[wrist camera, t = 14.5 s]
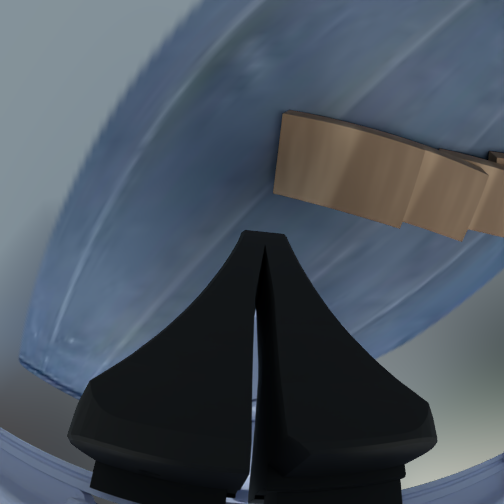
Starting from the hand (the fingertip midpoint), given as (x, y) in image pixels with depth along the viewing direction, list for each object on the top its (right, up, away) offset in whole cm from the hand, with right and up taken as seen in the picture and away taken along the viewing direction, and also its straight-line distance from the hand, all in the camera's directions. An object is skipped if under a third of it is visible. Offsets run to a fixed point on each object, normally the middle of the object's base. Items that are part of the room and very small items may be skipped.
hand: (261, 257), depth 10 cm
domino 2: (+7, +5, +8) cm, 12 cm away
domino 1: (+1, +6, +7) cm, 10 cm away
